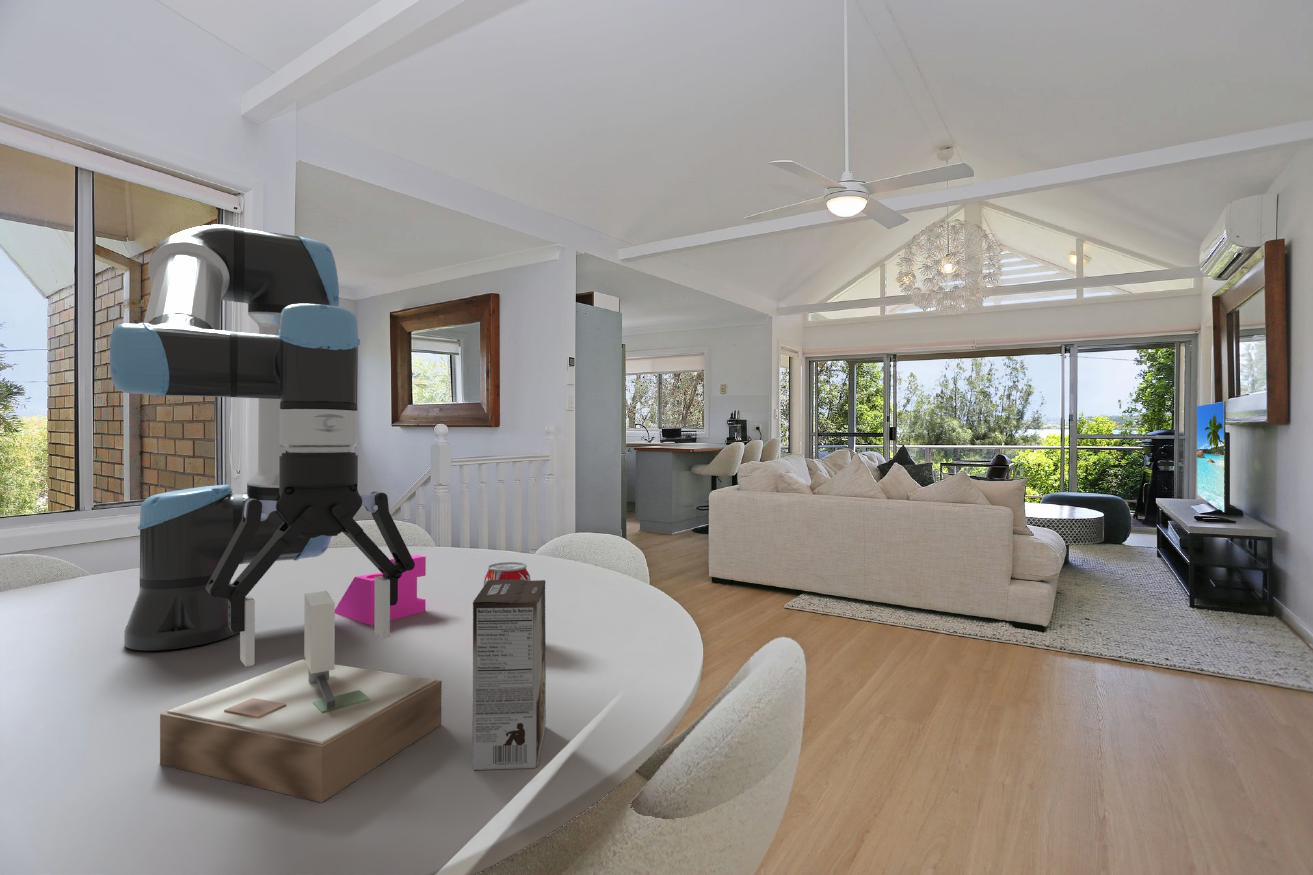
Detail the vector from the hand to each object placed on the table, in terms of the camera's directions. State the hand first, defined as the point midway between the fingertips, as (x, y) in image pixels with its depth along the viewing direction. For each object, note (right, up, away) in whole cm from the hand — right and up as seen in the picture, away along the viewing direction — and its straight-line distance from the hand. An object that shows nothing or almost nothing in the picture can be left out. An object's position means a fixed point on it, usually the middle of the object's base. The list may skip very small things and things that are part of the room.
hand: (319, 648), depth 69 cm
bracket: (-13, -9, +45) cm, 48 cm away
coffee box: (+22, -9, -4) cm, 24 cm away
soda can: (+14, -9, +28) cm, 32 cm away
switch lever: (+2, -3, -3) cm, 5 cm away
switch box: (+1, -9, -3) cm, 9 cm away
